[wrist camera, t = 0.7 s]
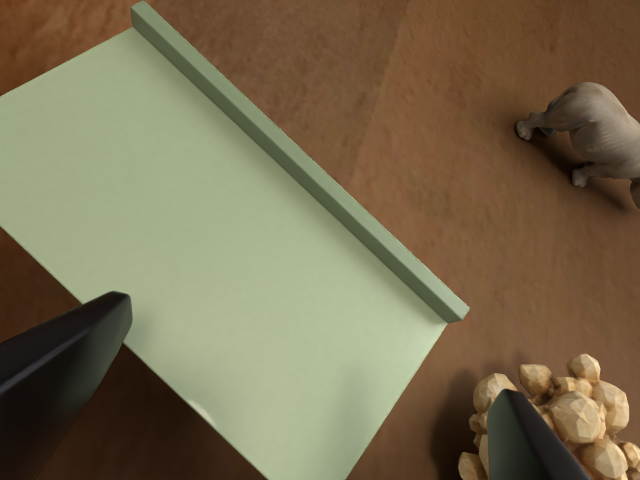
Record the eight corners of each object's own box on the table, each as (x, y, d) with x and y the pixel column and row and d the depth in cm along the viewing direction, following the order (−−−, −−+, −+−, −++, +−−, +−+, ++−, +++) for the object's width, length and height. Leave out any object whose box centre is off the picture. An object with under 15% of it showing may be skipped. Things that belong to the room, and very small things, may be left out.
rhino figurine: (639, 243, 33) (727, 215, 28) (508, 135, 33) (572, 85, 28) (649, 208, 35) (734, 176, 30) (525, 105, 35) (589, 53, 29)
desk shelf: (286, 495, 20) (326, 535, 15) (-29, 196, 20) (-109, 123, 15) (406, 325, 25) (470, 308, 19) (151, 85, 25) (143, -2, 19)
